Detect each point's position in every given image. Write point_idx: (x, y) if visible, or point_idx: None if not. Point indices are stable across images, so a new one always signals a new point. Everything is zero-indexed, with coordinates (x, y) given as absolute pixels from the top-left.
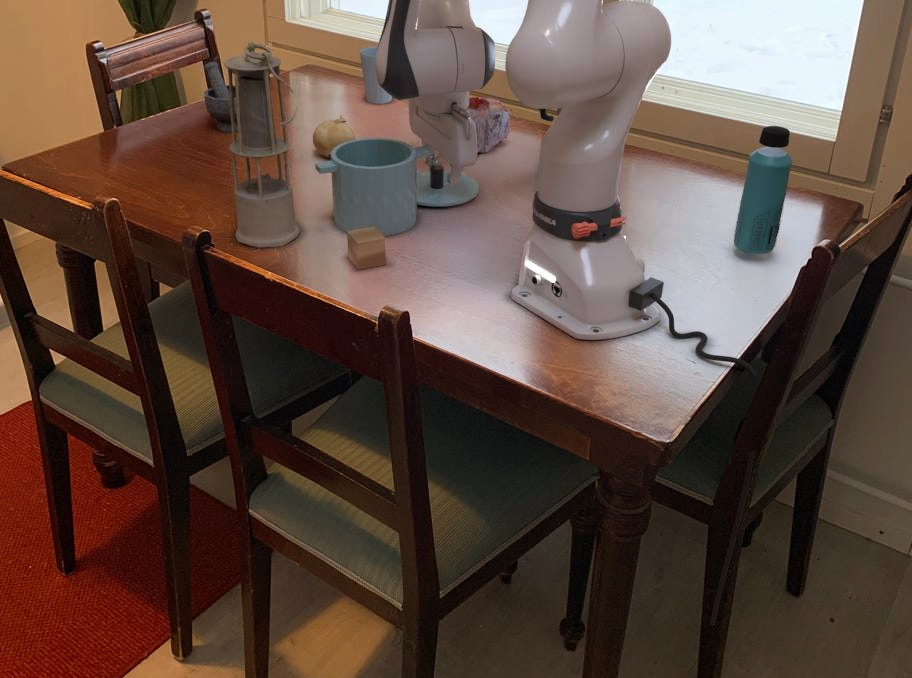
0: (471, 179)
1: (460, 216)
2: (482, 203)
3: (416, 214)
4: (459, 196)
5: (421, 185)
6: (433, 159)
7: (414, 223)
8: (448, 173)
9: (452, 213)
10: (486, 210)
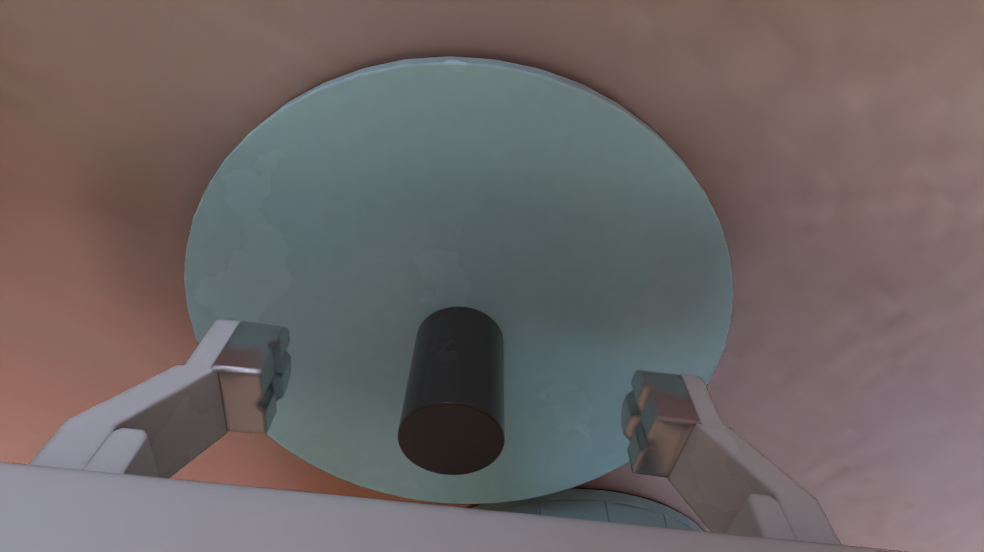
0: (478, 81)
1: (797, 368)
2: (773, 182)
3: (675, 527)
4: (676, 317)
5: (401, 394)
6: (269, 380)
7: (700, 529)
8: (640, 469)
9: (738, 379)
10: (867, 222)
